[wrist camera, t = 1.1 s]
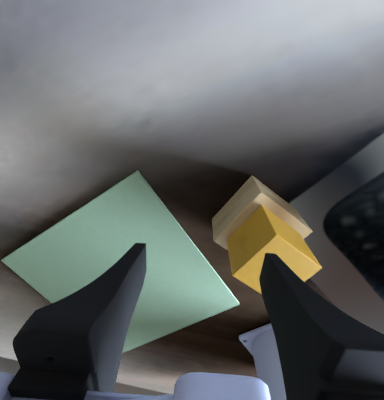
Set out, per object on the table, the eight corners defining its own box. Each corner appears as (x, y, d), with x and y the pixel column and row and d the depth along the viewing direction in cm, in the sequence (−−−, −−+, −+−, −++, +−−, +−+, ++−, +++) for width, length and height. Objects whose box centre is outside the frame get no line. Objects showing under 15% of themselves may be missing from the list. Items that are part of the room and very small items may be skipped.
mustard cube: (299, 233, 21) (322, 268, 17) (263, 265, 22) (276, 304, 18) (261, 204, 20) (276, 234, 16) (226, 240, 21) (231, 275, 17)
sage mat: (239, 301, 30) (239, 304, 29) (115, 353, 35) (114, 356, 35) (137, 169, 23) (136, 171, 23) (3, 258, 28) (0, 260, 28)
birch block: (296, 209, 24) (313, 231, 21) (254, 248, 26) (263, 274, 23) (251, 174, 23) (261, 191, 19) (211, 218, 25) (213, 241, 21)
